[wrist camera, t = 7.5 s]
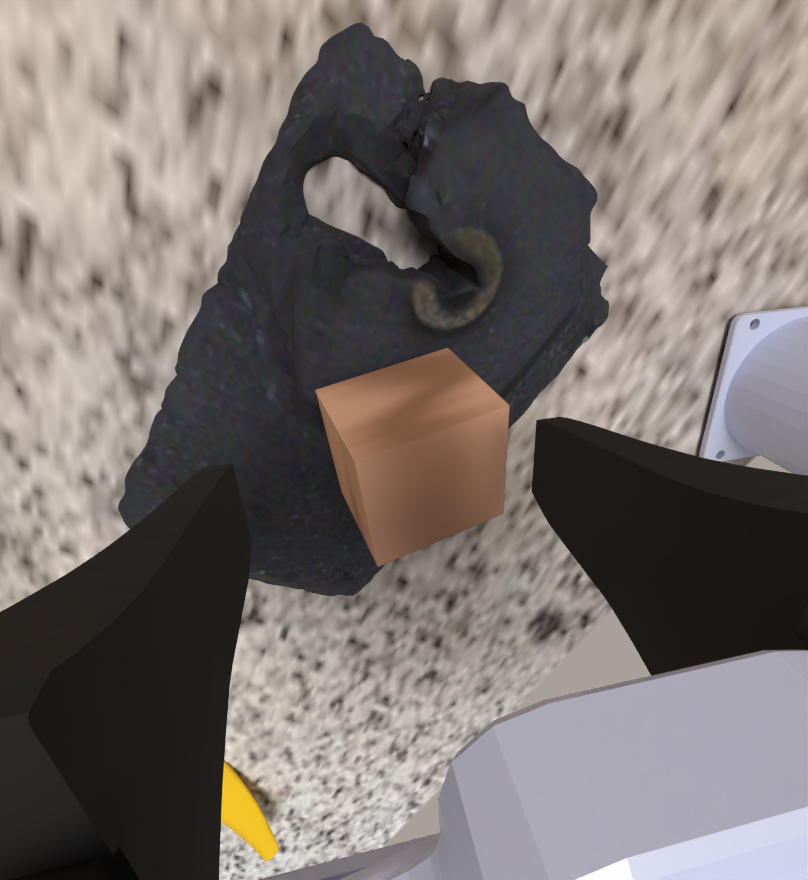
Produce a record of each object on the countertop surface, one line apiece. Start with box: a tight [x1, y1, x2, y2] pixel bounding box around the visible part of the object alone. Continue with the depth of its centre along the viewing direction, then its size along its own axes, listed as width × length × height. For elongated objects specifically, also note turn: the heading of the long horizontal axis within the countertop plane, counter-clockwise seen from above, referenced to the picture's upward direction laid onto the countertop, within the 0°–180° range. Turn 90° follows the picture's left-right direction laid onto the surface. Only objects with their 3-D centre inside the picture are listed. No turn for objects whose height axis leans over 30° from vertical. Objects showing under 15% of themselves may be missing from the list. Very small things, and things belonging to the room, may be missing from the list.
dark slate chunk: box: [118, 23, 609, 596], centre depth 20 cm, size 15×22×5 cm
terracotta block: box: [315, 348, 510, 567], centre depth 17 cm, size 5×5×4 cm
